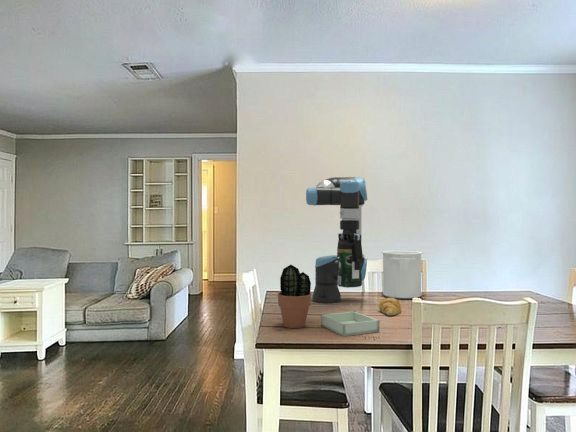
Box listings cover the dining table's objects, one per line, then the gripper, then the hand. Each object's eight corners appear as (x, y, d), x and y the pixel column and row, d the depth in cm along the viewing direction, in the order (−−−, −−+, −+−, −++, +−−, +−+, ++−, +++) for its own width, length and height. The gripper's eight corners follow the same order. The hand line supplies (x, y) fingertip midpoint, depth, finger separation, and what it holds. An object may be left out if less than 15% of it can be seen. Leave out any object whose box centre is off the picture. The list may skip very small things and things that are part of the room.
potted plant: (300, 331, 183) (300, 267, 183) (271, 326, 190) (271, 265, 190) (317, 324, 195) (317, 263, 194) (289, 320, 202) (289, 262, 202)
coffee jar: (358, 284, 191) (358, 239, 191) (364, 287, 184) (364, 240, 183) (335, 285, 190) (335, 239, 190) (339, 288, 182) (339, 240, 182)
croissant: (396, 325, 208) (405, 309, 206) (375, 313, 209) (384, 298, 208) (395, 313, 228) (403, 299, 227) (377, 303, 230) (384, 289, 229)
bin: (321, 325, 192) (321, 314, 192) (354, 321, 199) (354, 311, 199) (343, 336, 176) (343, 324, 176) (379, 331, 182) (379, 320, 182)
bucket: (380, 292, 272) (380, 249, 271) (418, 293, 269) (419, 250, 268) (383, 300, 246) (383, 253, 246) (425, 301, 243) (425, 254, 243)
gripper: (328, 219, 195) (328, 274, 195) (355, 220, 175) (355, 280, 176) (344, 219, 198) (344, 273, 198) (372, 220, 178) (372, 279, 179)
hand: (349, 276), depth 187 cm, fingers closed on coffee jar, 8 cm apart
